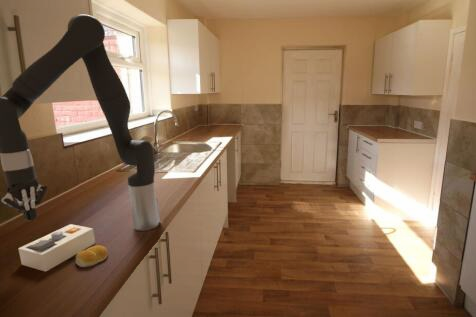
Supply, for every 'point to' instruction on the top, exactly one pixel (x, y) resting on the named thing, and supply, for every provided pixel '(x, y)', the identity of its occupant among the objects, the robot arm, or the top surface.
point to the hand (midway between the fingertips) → (31, 220)
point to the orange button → (72, 230)
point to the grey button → (57, 236)
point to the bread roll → (91, 256)
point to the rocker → (41, 244)
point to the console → (57, 248)
